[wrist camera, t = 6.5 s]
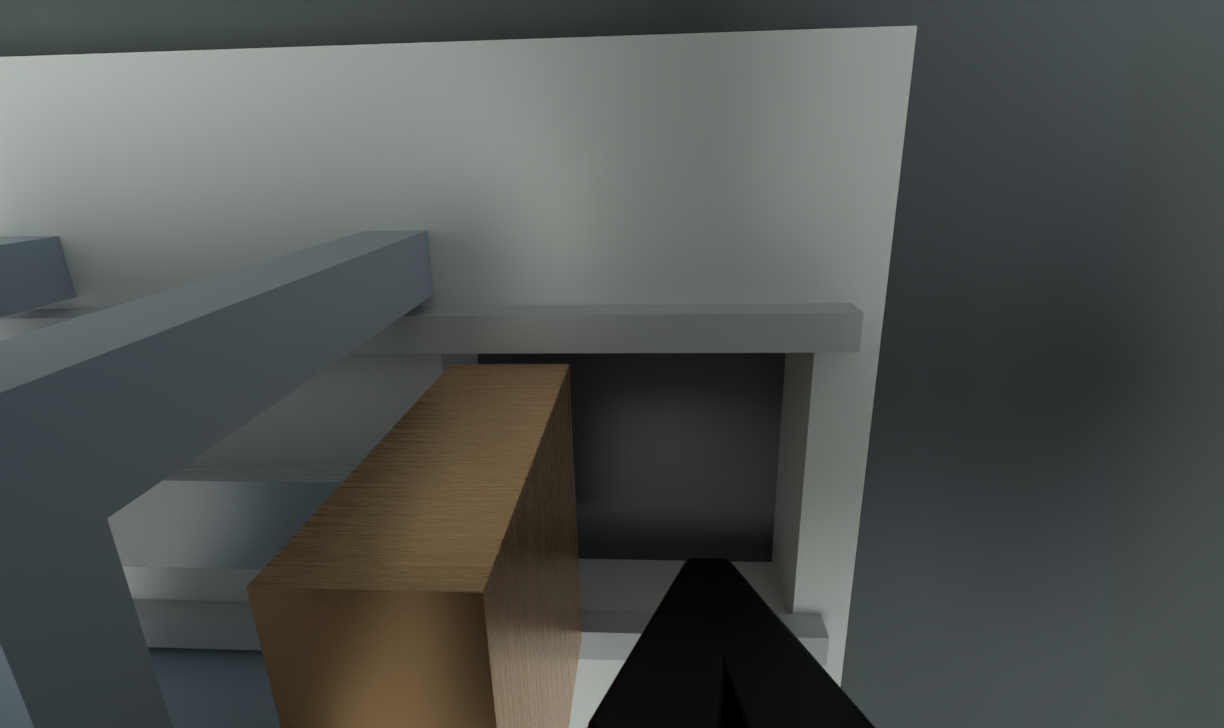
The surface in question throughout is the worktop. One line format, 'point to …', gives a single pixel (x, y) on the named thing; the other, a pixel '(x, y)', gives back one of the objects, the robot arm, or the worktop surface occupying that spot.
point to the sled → (402, 560)
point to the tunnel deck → (434, 318)
